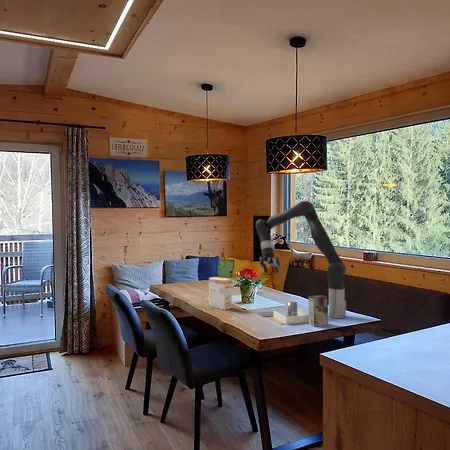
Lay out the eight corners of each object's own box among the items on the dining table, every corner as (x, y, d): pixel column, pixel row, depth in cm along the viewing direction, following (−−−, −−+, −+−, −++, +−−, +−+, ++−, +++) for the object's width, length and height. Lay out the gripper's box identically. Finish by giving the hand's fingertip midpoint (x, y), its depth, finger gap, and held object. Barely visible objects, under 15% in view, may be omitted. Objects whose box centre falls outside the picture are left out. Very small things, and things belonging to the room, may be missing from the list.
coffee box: (322, 322, 248) (323, 294, 248) (328, 325, 242) (328, 297, 242) (308, 323, 246) (308, 295, 245) (313, 326, 240) (313, 298, 239)
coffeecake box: (232, 308, 285) (231, 279, 284) (224, 310, 280) (224, 280, 279) (216, 304, 296) (216, 276, 295) (208, 306, 291) (208, 277, 290)
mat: (271, 312, 274) (271, 311, 274) (278, 315, 265) (278, 315, 265) (256, 313, 271) (256, 312, 271) (263, 317, 261) (263, 316, 261)
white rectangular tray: (301, 313, 269) (301, 307, 269) (317, 321, 252) (317, 314, 252) (267, 317, 262) (267, 310, 261) (281, 324, 244) (281, 317, 244)
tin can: (294, 317, 259) (294, 301, 259) (298, 320, 254) (298, 303, 254) (286, 318, 258) (286, 302, 257) (290, 320, 252) (290, 303, 252)
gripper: (261, 246, 273) (266, 270, 267) (279, 247, 281) (283, 271, 275) (255, 250, 279) (259, 274, 273) (272, 251, 287) (276, 275, 281)
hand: (271, 272), depth 274 cm, fingers open, 8 cm apart
